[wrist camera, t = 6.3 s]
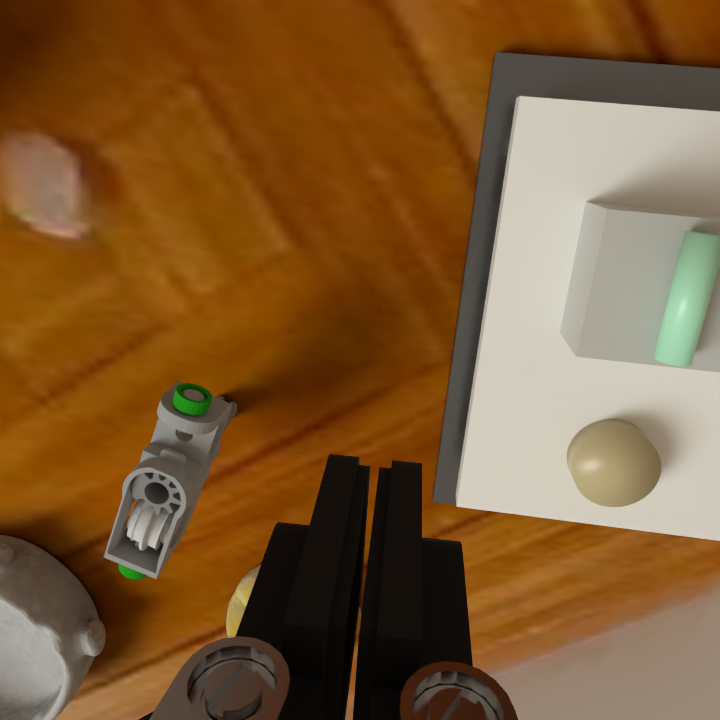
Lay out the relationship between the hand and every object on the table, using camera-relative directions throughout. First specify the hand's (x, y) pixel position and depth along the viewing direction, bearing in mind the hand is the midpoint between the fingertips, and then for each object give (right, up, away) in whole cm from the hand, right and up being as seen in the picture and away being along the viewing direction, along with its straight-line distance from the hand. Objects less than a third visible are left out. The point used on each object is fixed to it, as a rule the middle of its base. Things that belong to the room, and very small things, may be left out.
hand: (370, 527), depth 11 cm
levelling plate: (+13, +4, +18) cm, 23 cm away
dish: (-25, -15, +33) cm, 44 cm away
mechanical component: (-8, 0, +26) cm, 27 cm away
